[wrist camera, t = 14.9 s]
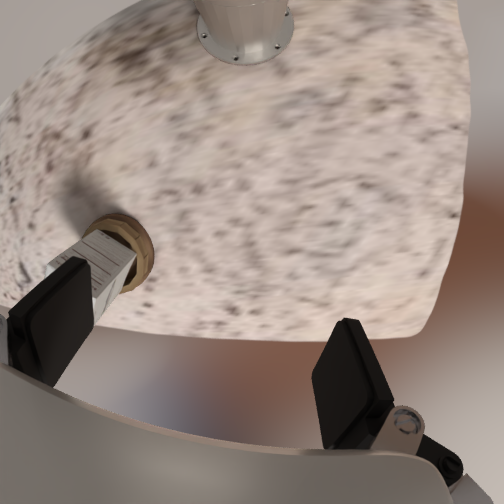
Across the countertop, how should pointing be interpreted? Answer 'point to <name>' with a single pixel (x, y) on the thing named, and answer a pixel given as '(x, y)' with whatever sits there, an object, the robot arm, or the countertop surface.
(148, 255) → the coaster tray
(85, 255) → the supplement box
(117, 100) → the countertop surface
